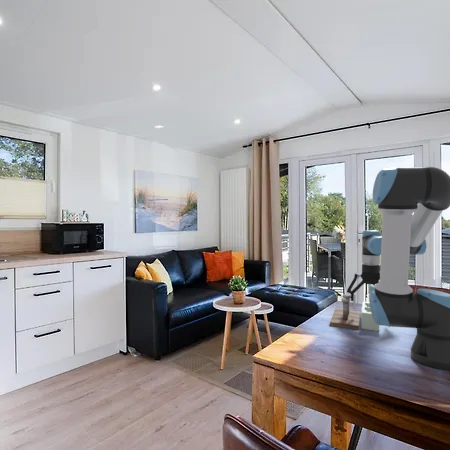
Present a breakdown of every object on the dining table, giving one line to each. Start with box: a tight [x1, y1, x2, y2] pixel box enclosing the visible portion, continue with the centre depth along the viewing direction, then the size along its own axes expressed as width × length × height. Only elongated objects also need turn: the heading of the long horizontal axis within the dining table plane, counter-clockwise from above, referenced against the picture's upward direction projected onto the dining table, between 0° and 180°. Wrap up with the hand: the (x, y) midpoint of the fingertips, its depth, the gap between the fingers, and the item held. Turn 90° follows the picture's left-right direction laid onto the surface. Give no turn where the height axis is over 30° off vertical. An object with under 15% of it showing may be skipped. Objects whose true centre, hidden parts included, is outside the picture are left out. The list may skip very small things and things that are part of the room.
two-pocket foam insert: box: [360, 301, 380, 332], centre depth 148 cm, size 21×7×7 cm, turn 155°
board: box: [329, 293, 362, 330], centre depth 153 cm, size 25×12×11 cm, turn 155°
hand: (370, 309), depth 148 cm, fingers open, 13 cm apart
